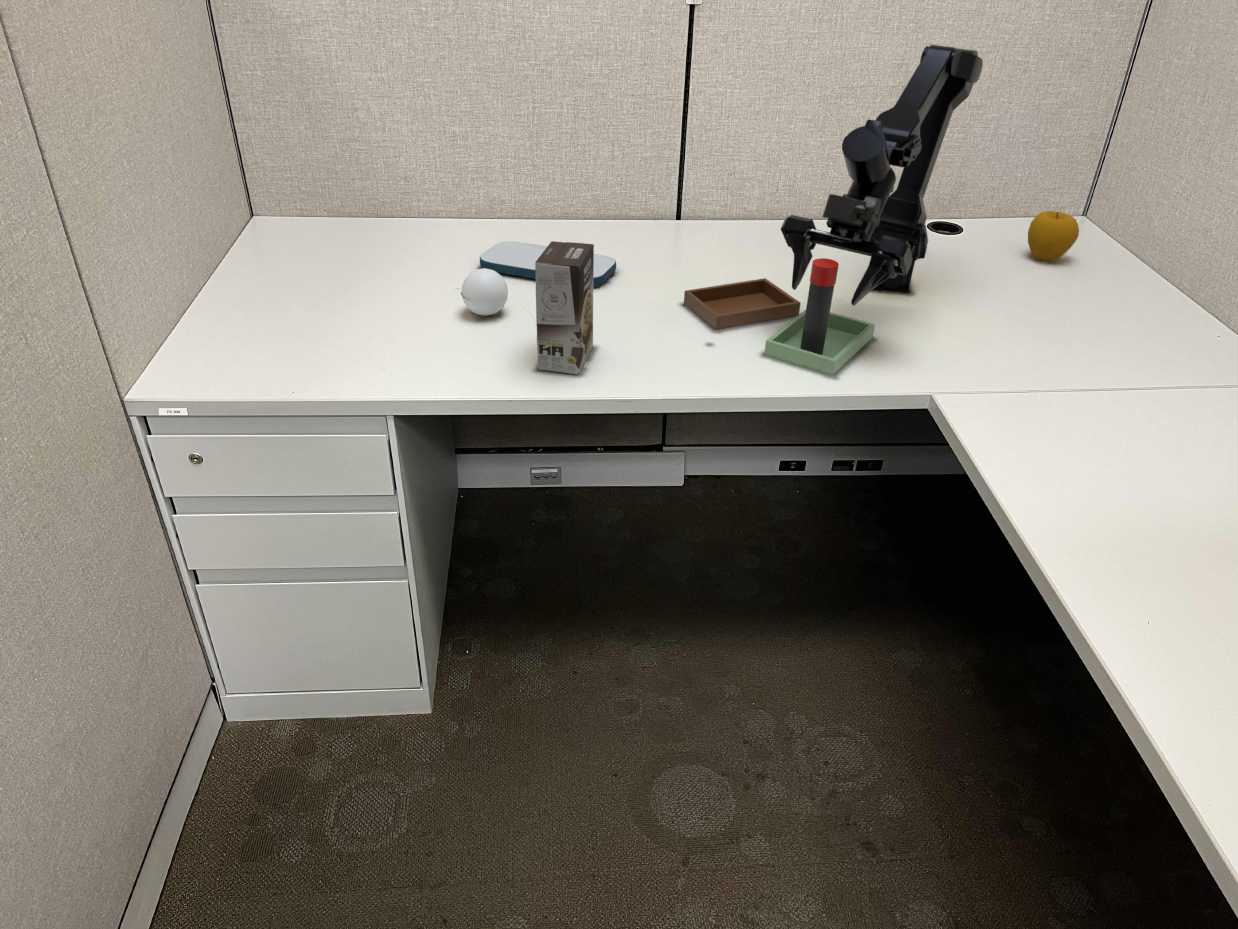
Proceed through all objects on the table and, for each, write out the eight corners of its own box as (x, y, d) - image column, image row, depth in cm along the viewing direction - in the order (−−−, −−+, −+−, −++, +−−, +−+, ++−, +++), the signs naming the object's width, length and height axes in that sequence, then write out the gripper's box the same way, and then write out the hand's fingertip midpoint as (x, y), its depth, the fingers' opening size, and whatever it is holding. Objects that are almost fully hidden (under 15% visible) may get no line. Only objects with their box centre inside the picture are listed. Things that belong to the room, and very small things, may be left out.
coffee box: (580, 375, 124) (580, 266, 115) (536, 370, 125) (532, 261, 116) (594, 347, 131) (595, 242, 122) (553, 342, 132) (551, 238, 123)
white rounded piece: (515, 307, 143) (513, 263, 139) (499, 325, 137) (497, 281, 133) (458, 299, 144) (454, 256, 140) (440, 317, 139) (435, 273, 134)
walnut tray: (763, 291, 150) (765, 278, 149) (798, 316, 142) (800, 302, 141) (683, 304, 145) (684, 290, 144) (715, 331, 137) (716, 316, 135)
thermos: (822, 348, 132) (838, 259, 124) (823, 359, 129) (839, 268, 121) (798, 346, 132) (812, 257, 125) (799, 356, 129) (813, 266, 122)
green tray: (807, 320, 141) (809, 306, 139) (872, 339, 136) (875, 324, 134) (763, 355, 130) (765, 340, 129) (832, 376, 125) (835, 361, 124)
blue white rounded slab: (473, 270, 155) (472, 260, 154) (502, 249, 164) (502, 238, 163) (598, 291, 148) (598, 280, 147) (621, 268, 157) (621, 257, 156)
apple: (1073, 256, 168) (1088, 210, 163) (1065, 270, 162) (1080, 223, 157) (1026, 247, 171) (1039, 202, 166) (1017, 260, 165) (1030, 213, 160)
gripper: (795, 158, 125) (750, 254, 124) (923, 182, 117) (877, 286, 115) (810, 200, 135) (769, 290, 133) (929, 225, 126) (887, 321, 125)
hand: (822, 296), depth 126 cm, fingers open, 9 cm apart
